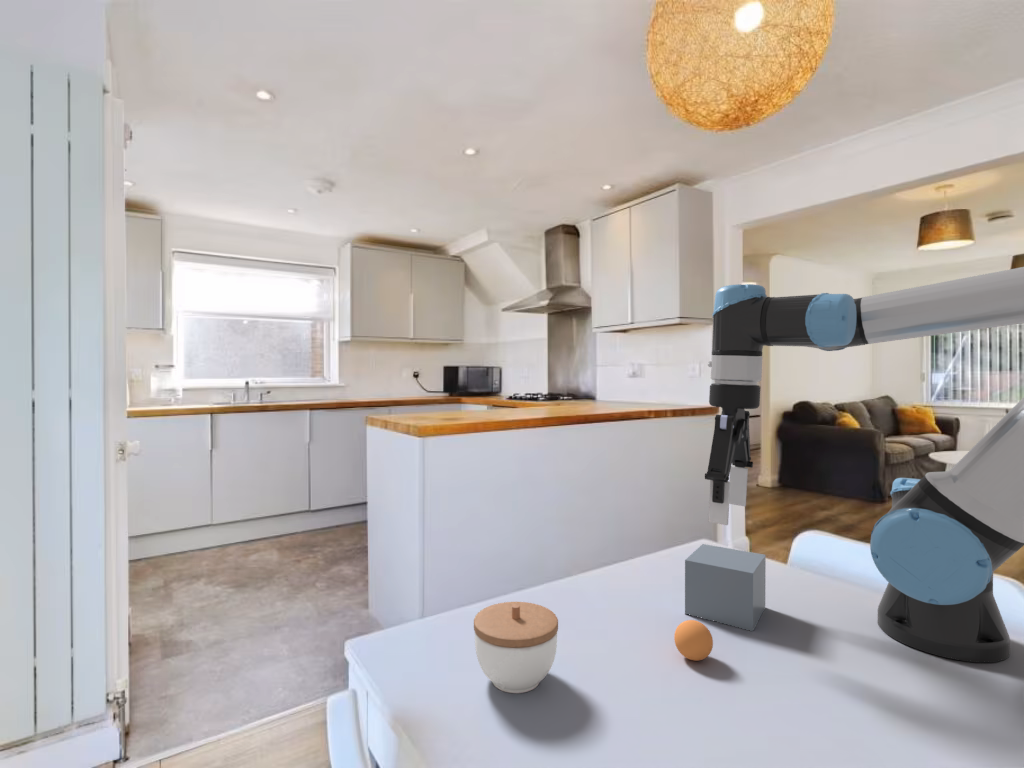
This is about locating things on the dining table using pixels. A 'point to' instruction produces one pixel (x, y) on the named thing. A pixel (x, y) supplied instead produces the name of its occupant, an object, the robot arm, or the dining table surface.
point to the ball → (693, 640)
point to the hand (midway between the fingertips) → (728, 513)
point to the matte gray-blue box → (725, 585)
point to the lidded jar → (516, 644)
